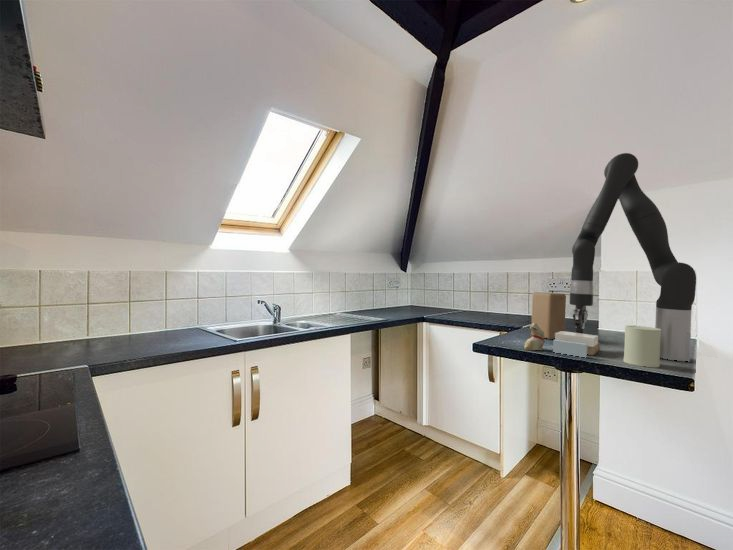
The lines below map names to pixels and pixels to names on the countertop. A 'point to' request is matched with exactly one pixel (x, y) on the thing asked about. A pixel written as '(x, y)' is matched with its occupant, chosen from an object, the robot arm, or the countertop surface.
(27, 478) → the countertop surface
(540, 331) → the chocolate bunny
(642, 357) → the can
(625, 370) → the countertop surface
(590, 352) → the roller
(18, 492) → the countertop surface
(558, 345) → the rail
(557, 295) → the wooden block
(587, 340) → the slab
